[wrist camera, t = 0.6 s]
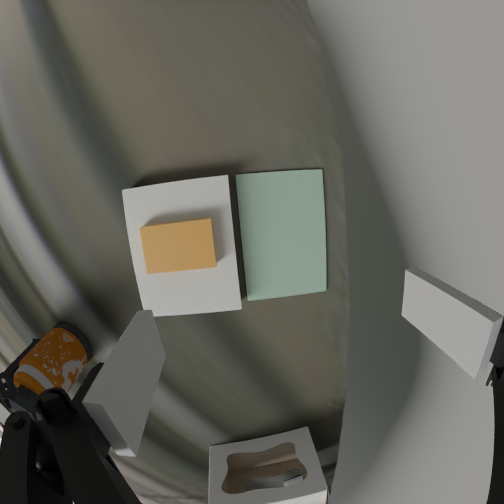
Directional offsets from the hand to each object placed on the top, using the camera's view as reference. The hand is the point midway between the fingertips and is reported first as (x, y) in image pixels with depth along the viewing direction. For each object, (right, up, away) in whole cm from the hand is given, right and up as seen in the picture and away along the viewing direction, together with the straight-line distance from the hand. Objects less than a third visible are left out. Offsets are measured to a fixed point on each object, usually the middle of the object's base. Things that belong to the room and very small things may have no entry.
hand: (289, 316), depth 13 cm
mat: (+3, +5, +26) cm, 27 cm away
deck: (-11, +4, +25) cm, 28 cm away
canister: (-36, -13, +28) cm, 47 cm away
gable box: (+1, -42, +38) cm, 57 cm away
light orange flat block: (-11, +4, +22) cm, 25 cm away
